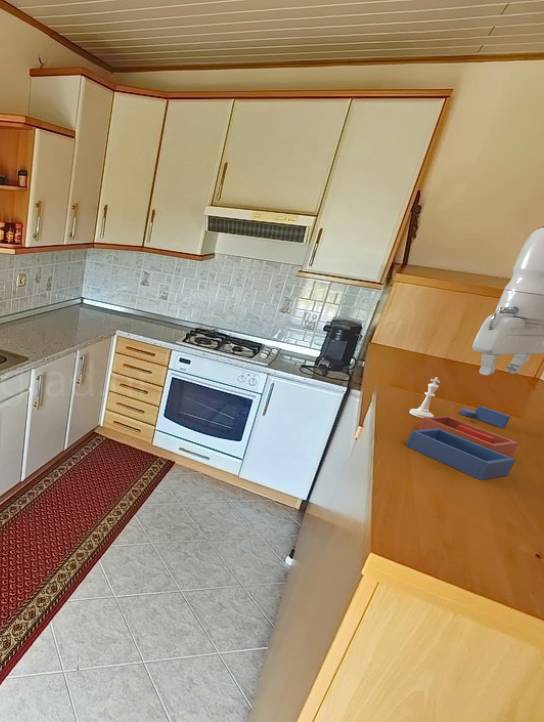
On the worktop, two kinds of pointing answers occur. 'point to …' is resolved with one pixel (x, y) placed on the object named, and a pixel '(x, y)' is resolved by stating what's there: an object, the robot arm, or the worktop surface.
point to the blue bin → (460, 453)
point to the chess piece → (426, 401)
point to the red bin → (450, 426)
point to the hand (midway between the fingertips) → (498, 373)
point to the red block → (475, 434)
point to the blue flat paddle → (487, 416)
